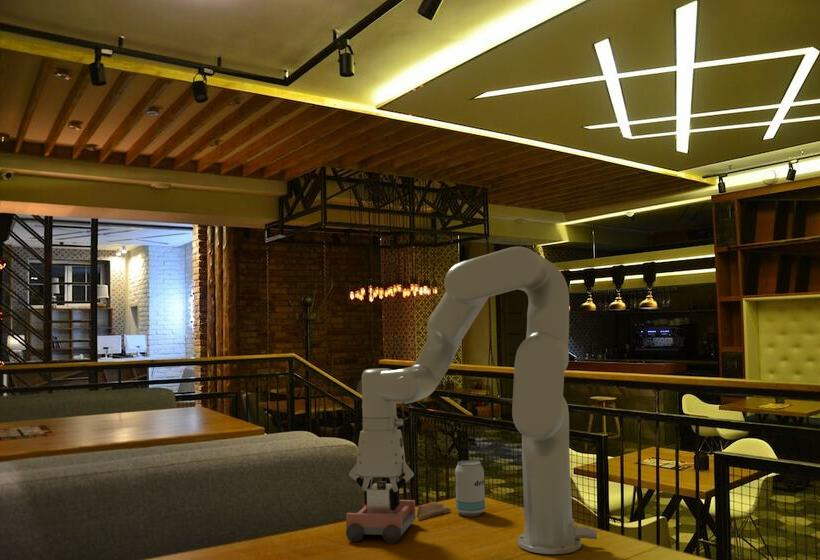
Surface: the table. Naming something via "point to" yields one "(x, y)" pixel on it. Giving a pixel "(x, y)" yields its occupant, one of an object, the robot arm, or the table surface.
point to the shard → (431, 510)
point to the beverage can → (470, 488)
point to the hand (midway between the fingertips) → (382, 507)
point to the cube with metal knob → (379, 498)
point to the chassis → (381, 522)
